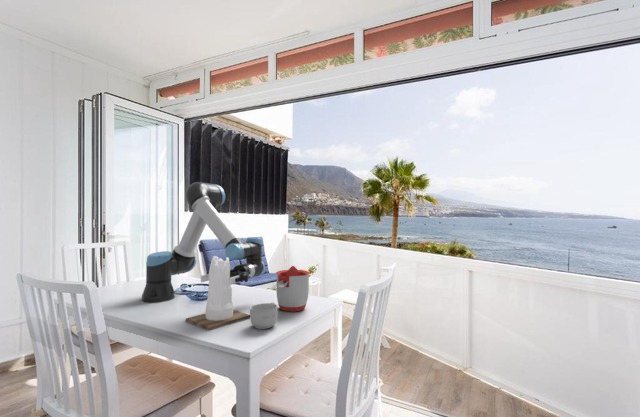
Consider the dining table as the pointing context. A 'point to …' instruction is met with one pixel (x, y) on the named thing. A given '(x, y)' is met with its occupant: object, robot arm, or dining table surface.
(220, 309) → the decorative vase
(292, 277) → the citrus juicer
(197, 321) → the board
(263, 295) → the dining table surface
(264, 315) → the teacup
